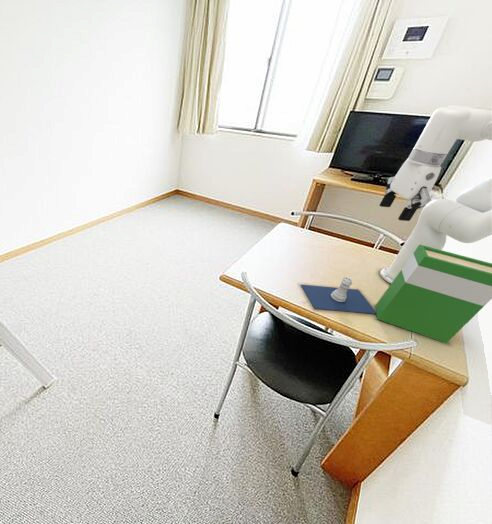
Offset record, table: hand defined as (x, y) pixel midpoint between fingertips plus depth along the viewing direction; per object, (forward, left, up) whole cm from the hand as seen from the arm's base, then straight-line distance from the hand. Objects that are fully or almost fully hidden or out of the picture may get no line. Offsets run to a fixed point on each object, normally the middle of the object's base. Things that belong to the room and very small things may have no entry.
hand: (393, 213), depth 94 cm
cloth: (+10, +10, -28) cm, 32 cm away
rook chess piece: (+10, +10, -28) cm, 31 cm away
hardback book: (-8, +19, -28) cm, 35 cm away
